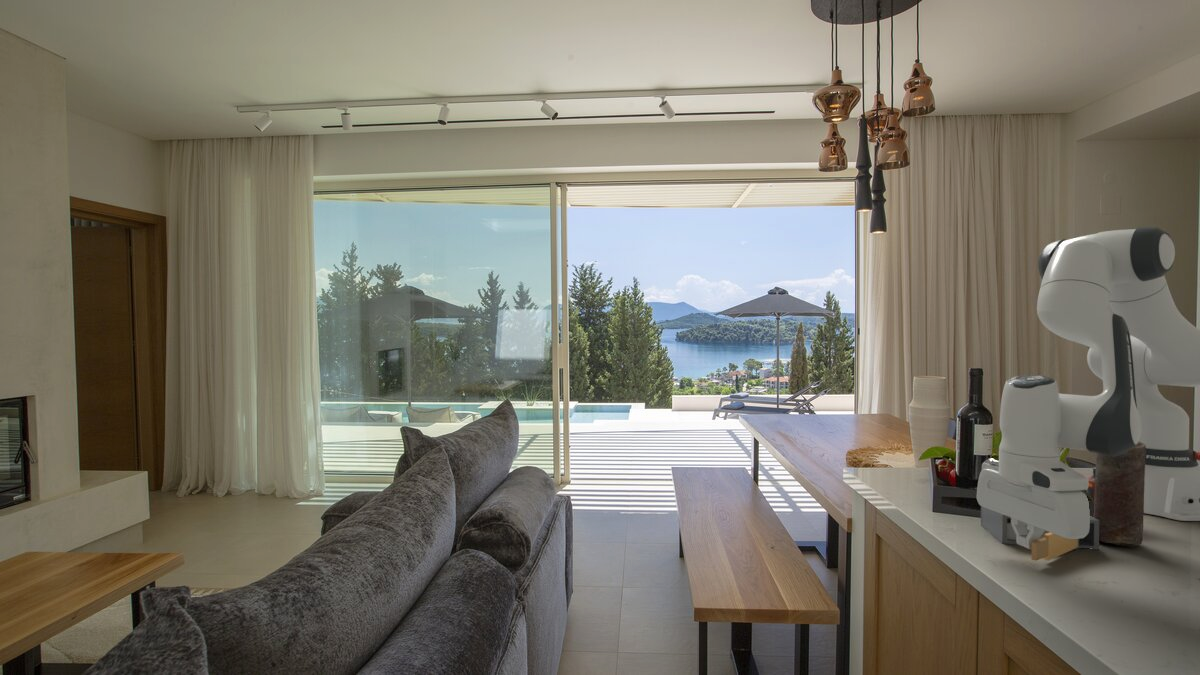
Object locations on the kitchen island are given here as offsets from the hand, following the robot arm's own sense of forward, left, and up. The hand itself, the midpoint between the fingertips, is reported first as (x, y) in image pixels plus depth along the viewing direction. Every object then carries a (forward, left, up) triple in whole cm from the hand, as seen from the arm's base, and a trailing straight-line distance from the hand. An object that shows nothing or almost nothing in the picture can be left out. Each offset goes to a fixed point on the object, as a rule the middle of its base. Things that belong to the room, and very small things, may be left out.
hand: (1026, 546), depth 109 cm
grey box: (-8, -15, -3) cm, 17 cm away
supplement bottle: (-26, -28, -3) cm, 38 cm away
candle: (-21, -15, -3) cm, 26 cm away
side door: (-6, -3, -2) cm, 7 cm away
